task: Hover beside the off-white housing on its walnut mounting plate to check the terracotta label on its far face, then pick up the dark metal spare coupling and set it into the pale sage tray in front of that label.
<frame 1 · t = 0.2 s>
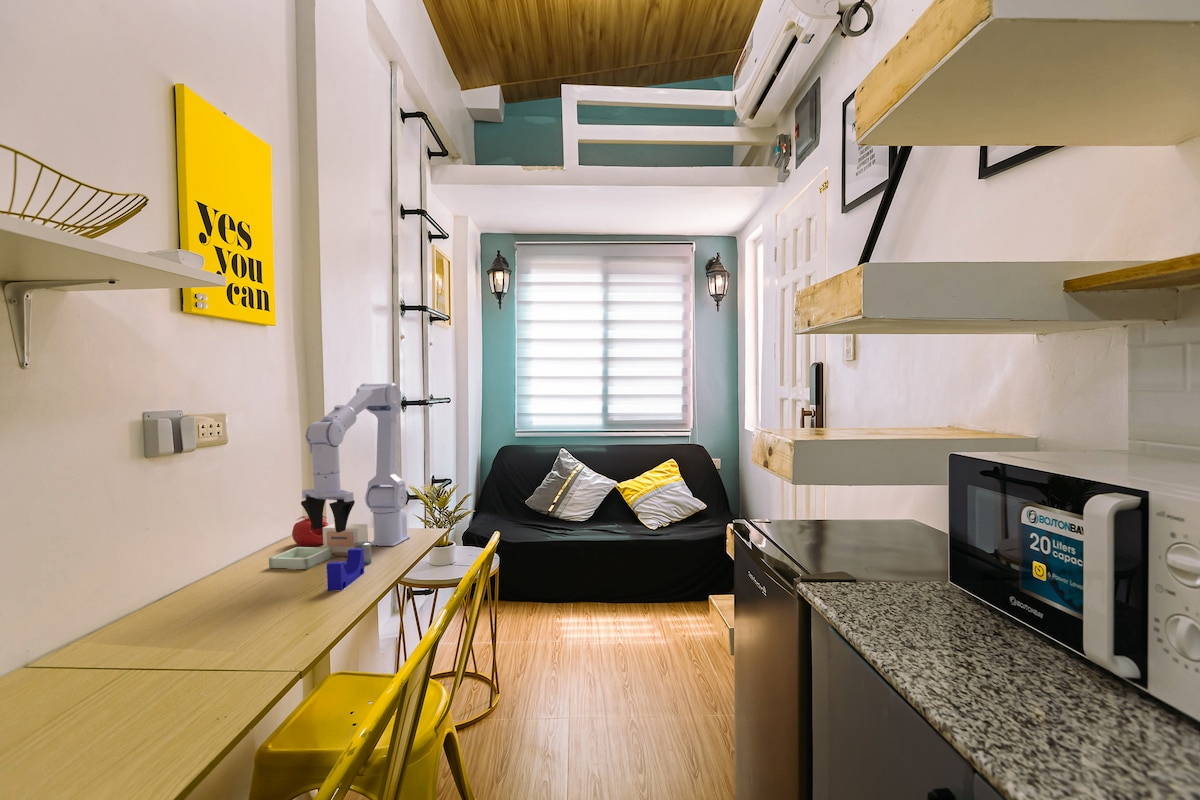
hand: (329, 530, 143), 10 cm above the counter, tool pointing down, fingers open, 7 cm apart
blue cradle block: (343, 583, 136), on the counter
parts tray: (301, 562, 151), on the counter
pomegranate: (312, 544, 169), on the counter
mounted housing: (344, 553, 159), on the counter
spare coupling: (362, 563, 149), on the counter
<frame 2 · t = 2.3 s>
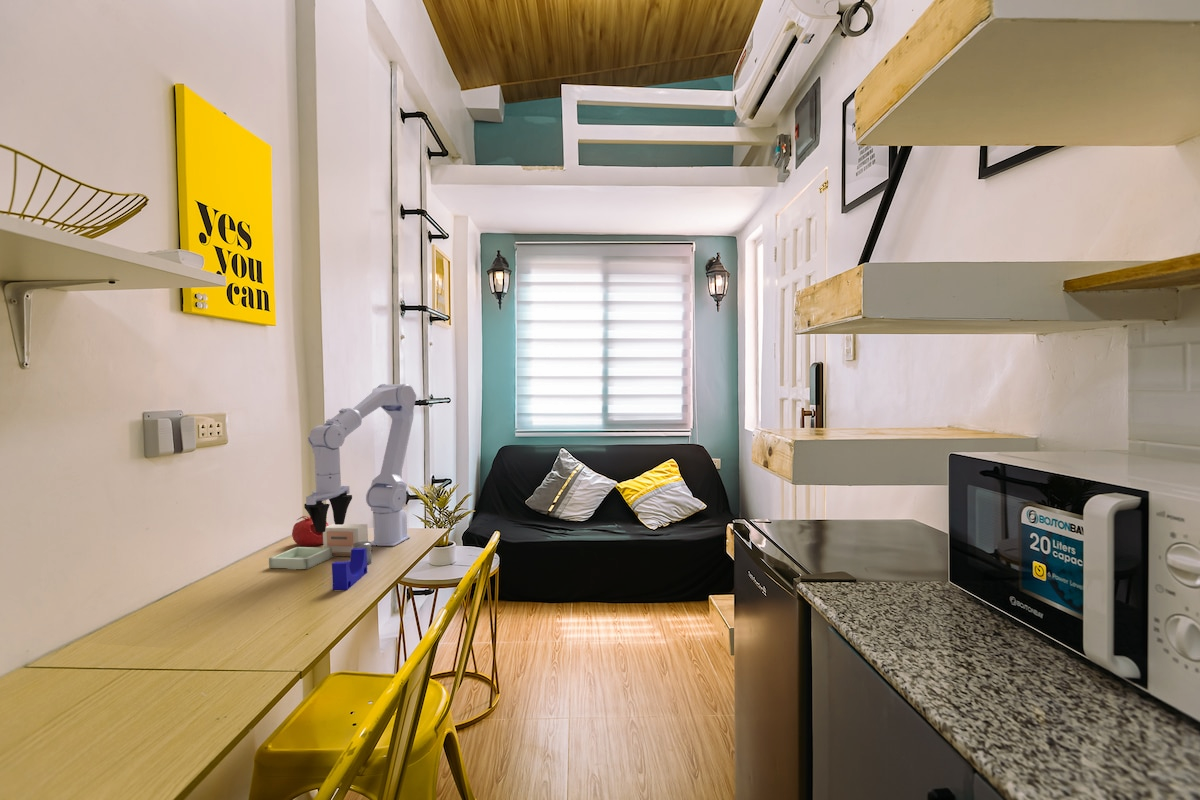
hand: (330, 528, 152), 8 cm above the counter, tool pointing down, fingers open, 7 cm apart
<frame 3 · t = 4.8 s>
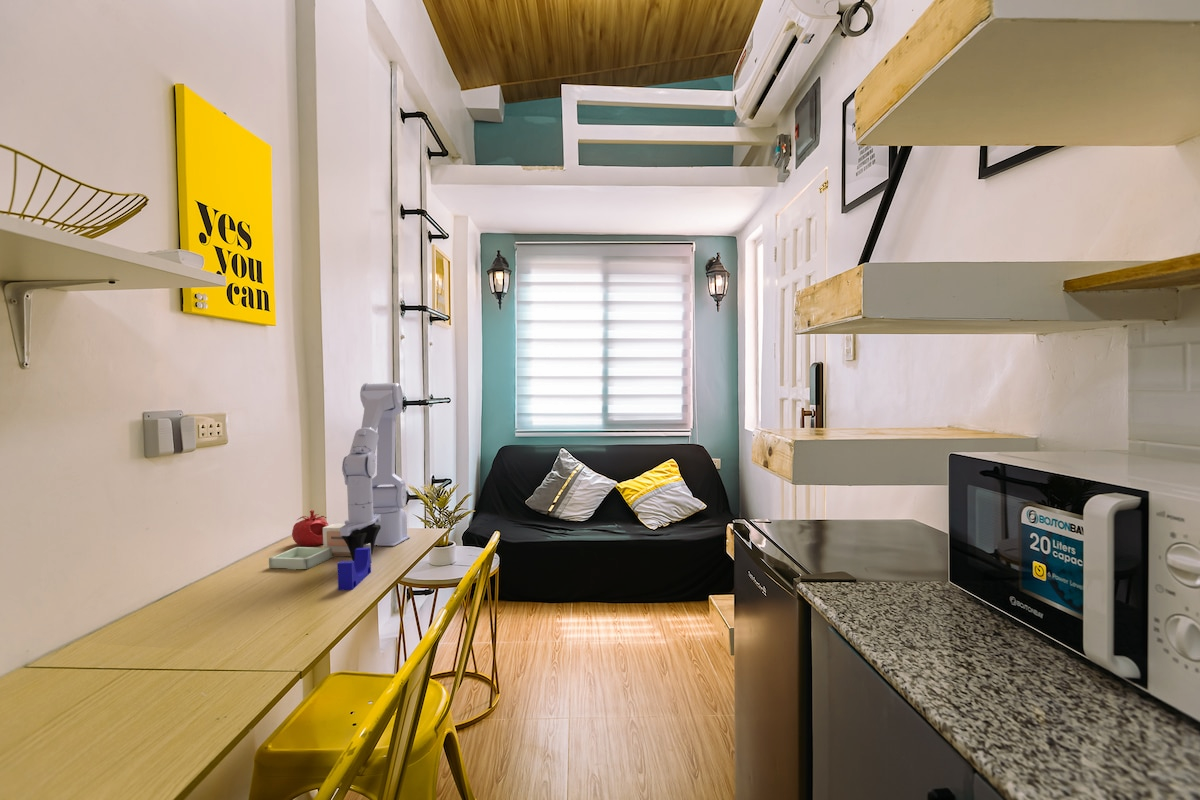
hand: (362, 557, 149), 1 cm above the counter, tool pointing down, fingers closed on spare coupling, 4 cm apart
spare coupling: (362, 563, 149), on the counter, touching gripper
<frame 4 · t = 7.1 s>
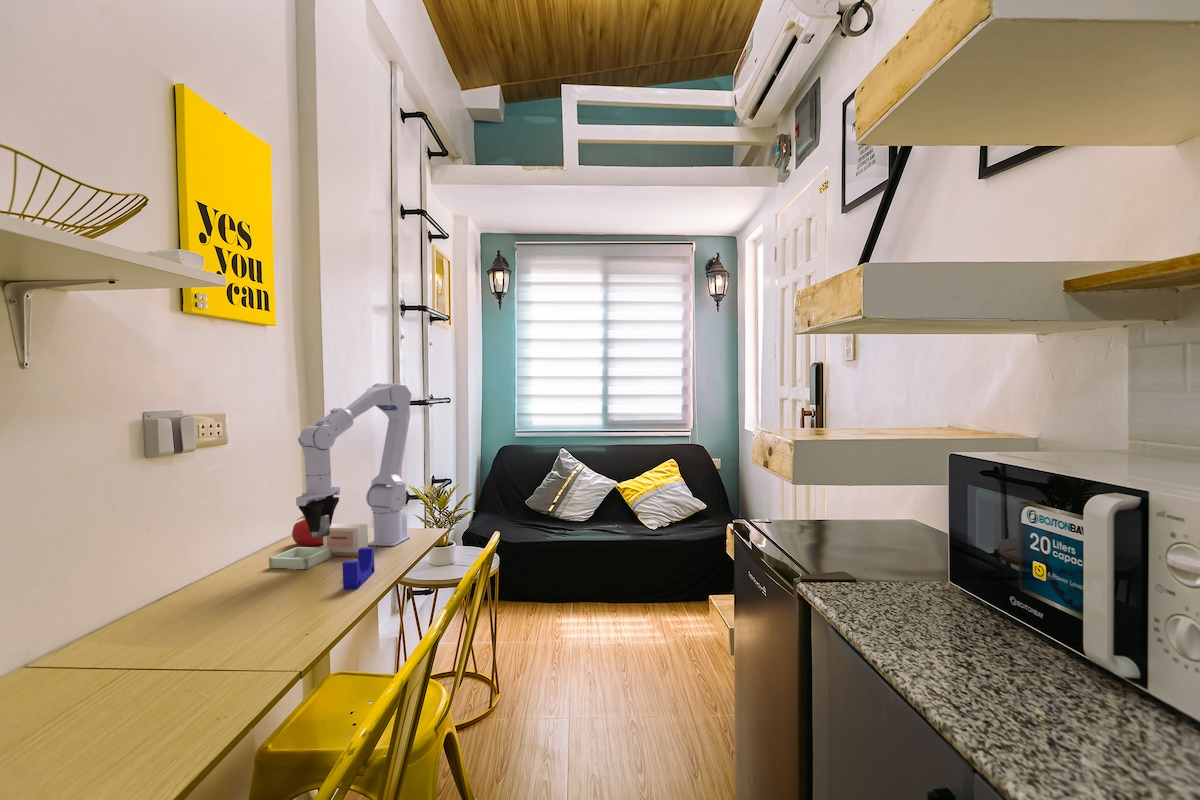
hand: (320, 529, 150), 8 cm above the counter, tool pointing down, fingers closed on spare coupling, 4 cm apart
spare coupling: (320, 535, 150), point 7 cm above the counter, touching gripper
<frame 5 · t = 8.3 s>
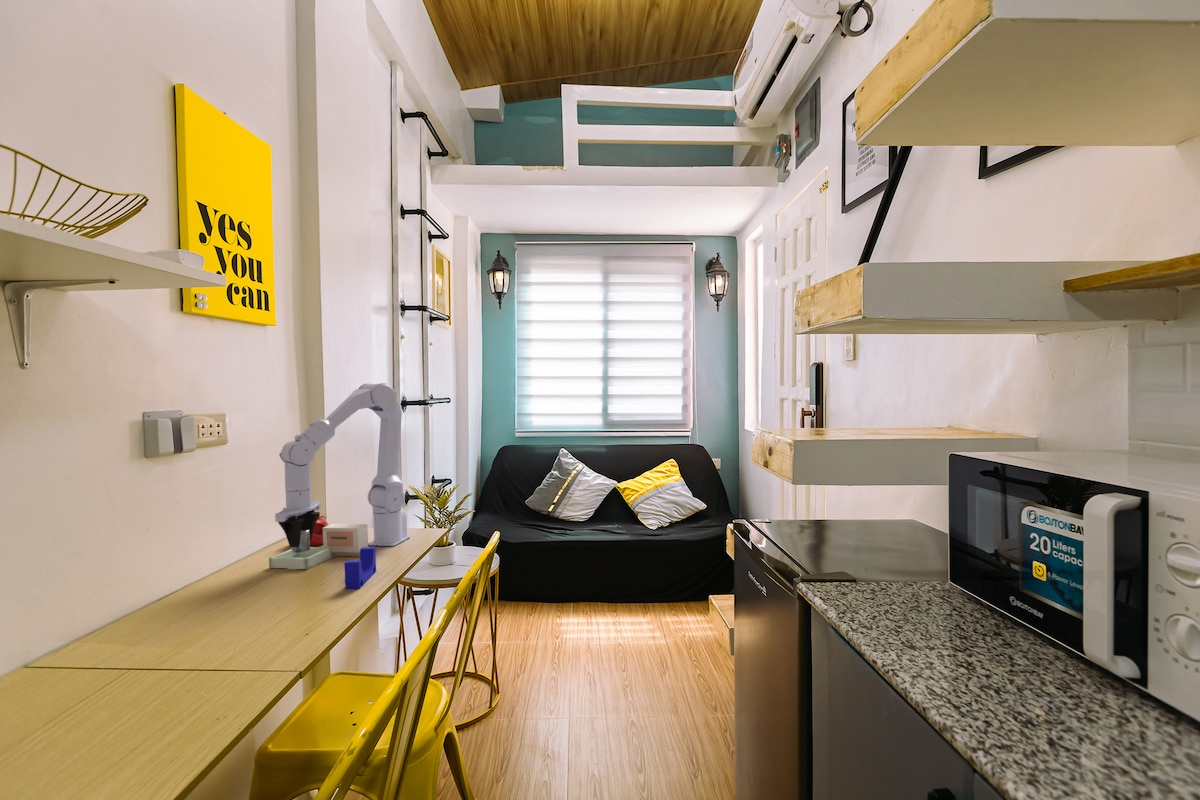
hand: (300, 544, 151), 5 cm above the counter, tool pointing down, fingers closed on spare coupling, 4 cm apart
spare coupling: (301, 550, 151), point 3 cm above the counter, touching gripper
when the fingers open (3 cm above the counter, at t = 9.4 s): spare coupling stays where it is, resting on parts tray.
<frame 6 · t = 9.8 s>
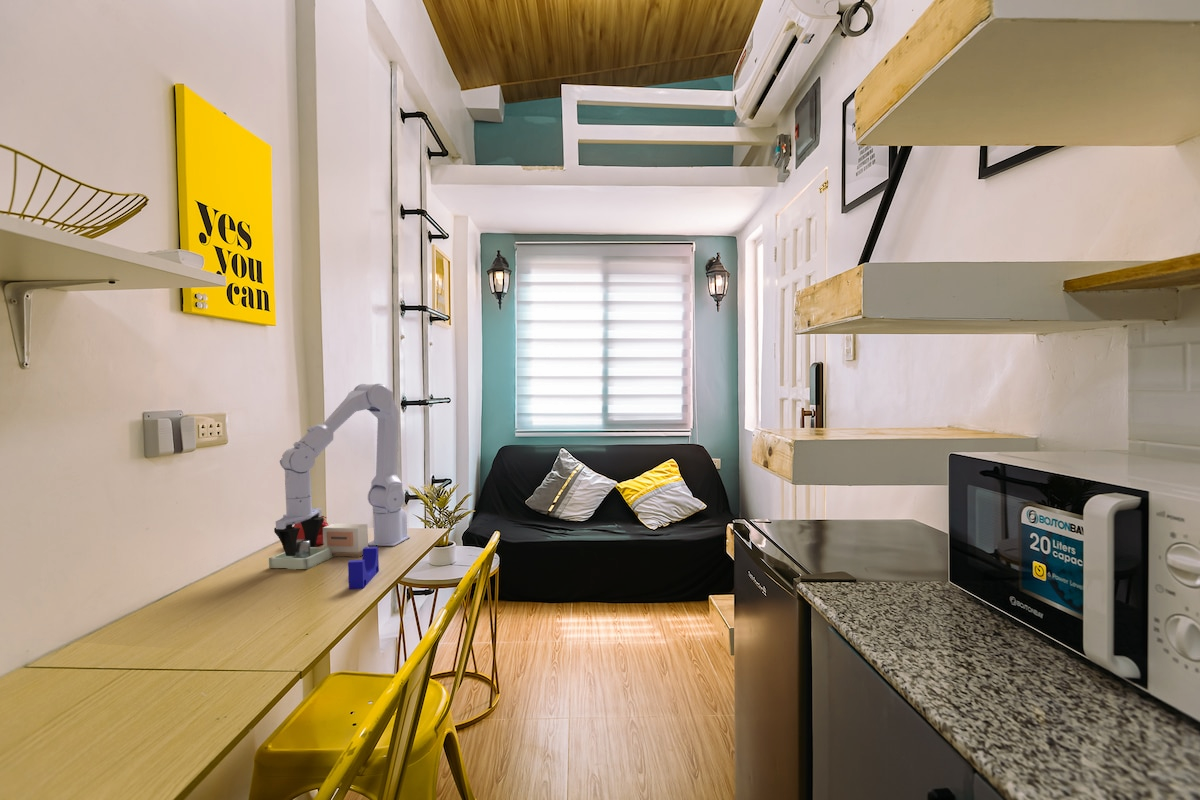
hand: (301, 551, 151), 3 cm above the counter, tool pointing down, fingers open, 7 cm apart
spare coupling: (301, 560, 151), point 1 cm above the counter, touching parts tray
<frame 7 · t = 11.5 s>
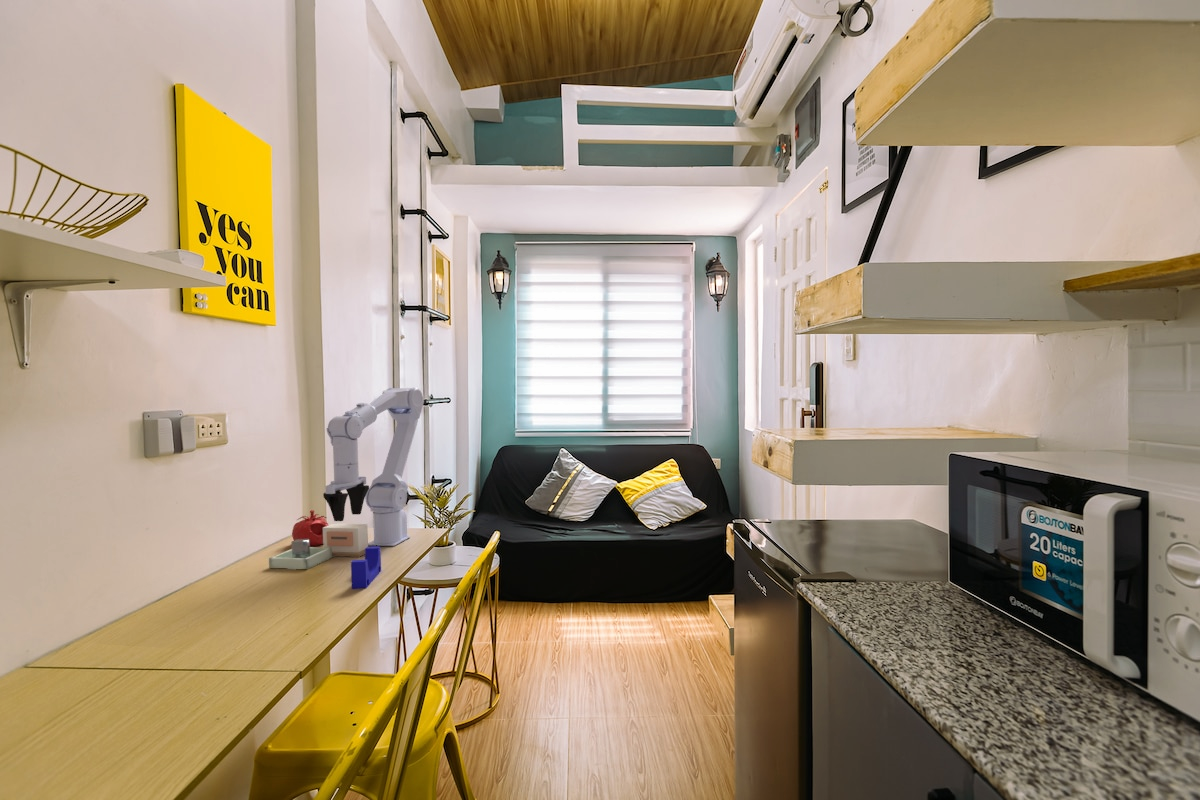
hand: (347, 517, 154), 10 cm above the counter, tool pointing down, fingers open, 7 cm apart
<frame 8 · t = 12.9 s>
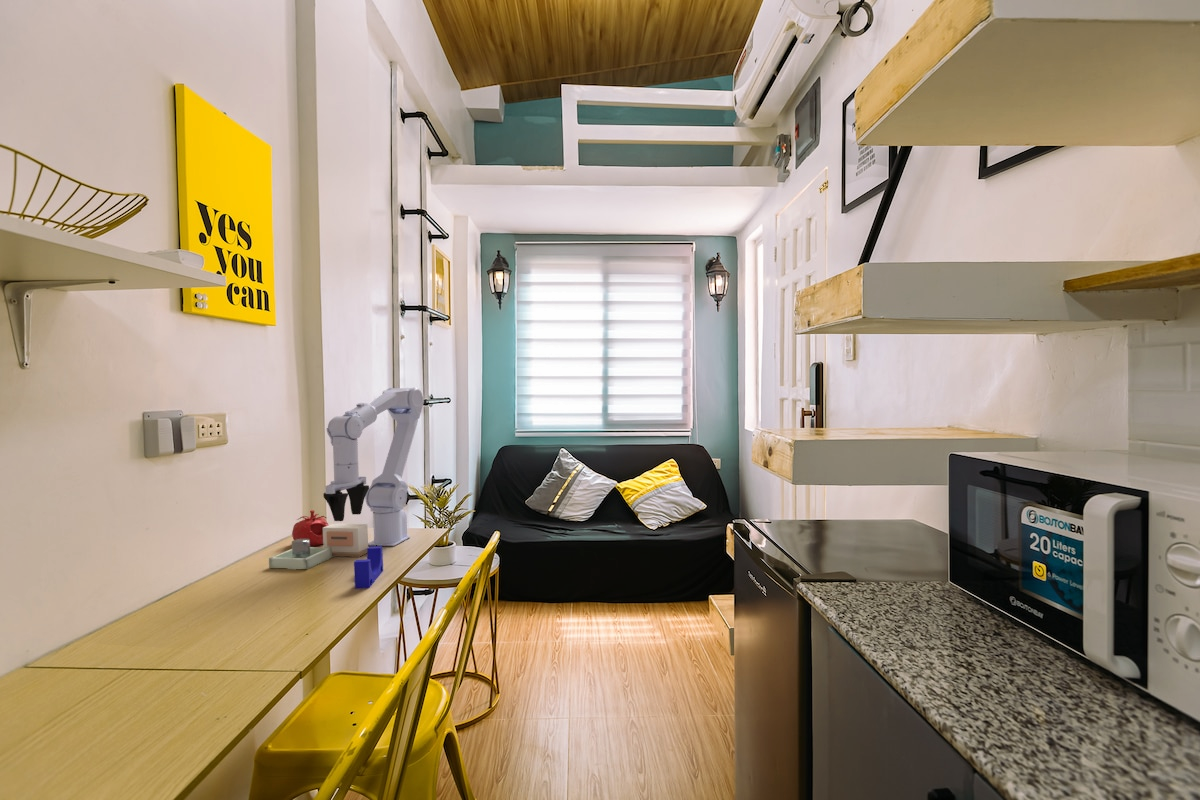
hand: (347, 517, 154), 10 cm above the counter, tool pointing down, fingers open, 7 cm apart
at the end: spare coupling 0.1 cm off-centre on the parts tray, point 0.6 cm above the parts tray's base; the gripper is holding nothing; spare coupling tilted 2° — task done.
